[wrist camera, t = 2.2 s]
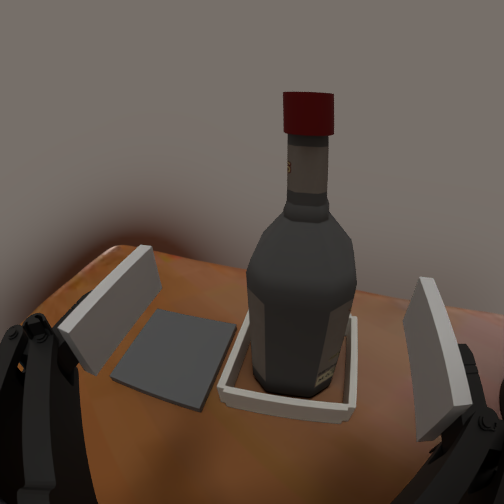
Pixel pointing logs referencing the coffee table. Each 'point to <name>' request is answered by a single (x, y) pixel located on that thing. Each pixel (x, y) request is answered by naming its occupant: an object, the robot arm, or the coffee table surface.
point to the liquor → (301, 264)
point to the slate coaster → (176, 358)
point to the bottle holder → (285, 404)
